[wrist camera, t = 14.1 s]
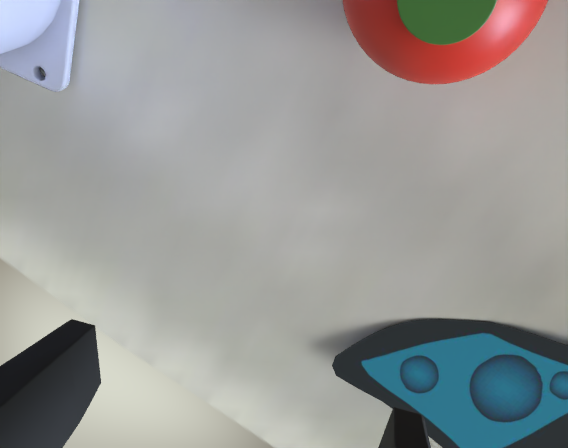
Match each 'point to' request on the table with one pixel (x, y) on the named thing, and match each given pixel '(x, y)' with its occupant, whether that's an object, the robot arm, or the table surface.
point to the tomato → (441, 35)
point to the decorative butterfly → (467, 381)
